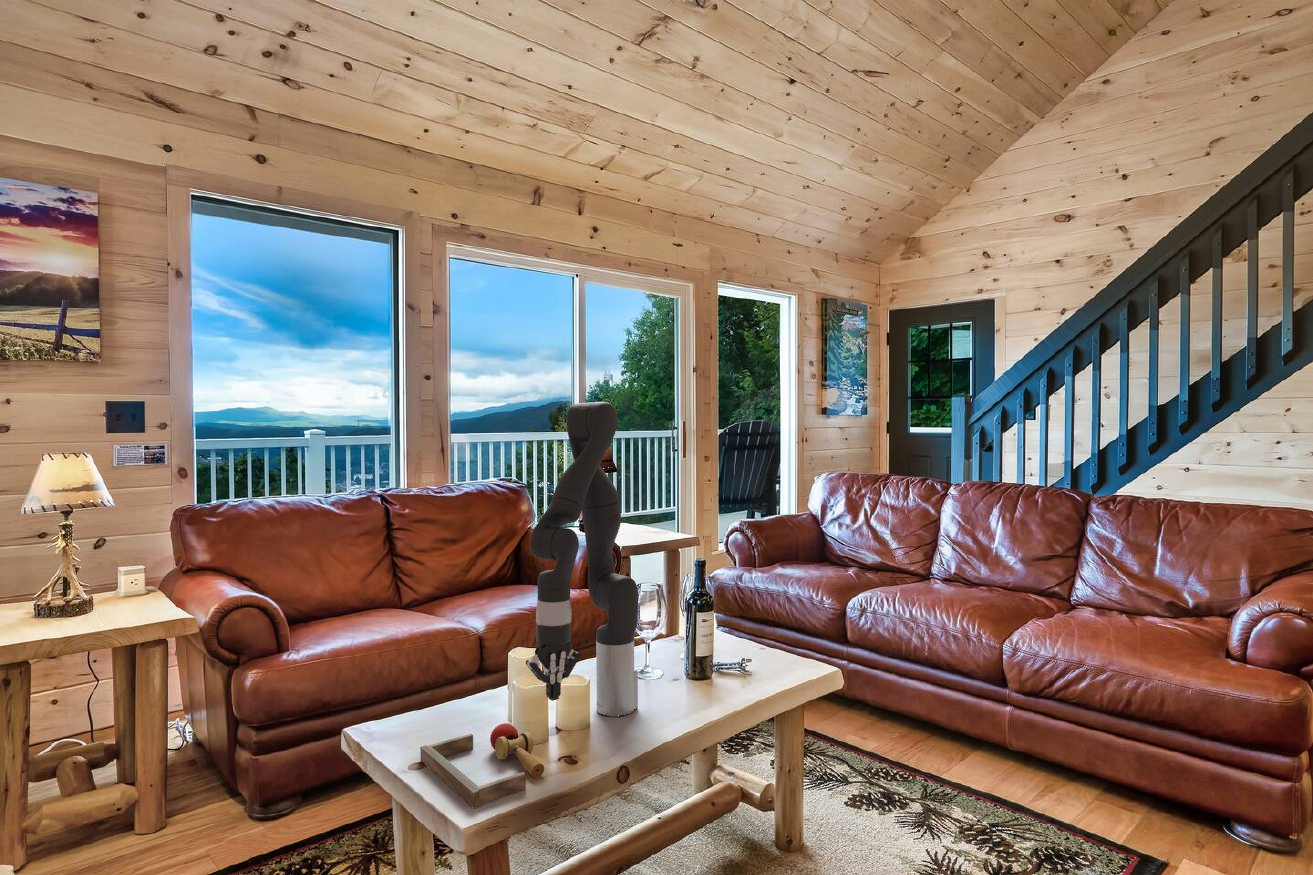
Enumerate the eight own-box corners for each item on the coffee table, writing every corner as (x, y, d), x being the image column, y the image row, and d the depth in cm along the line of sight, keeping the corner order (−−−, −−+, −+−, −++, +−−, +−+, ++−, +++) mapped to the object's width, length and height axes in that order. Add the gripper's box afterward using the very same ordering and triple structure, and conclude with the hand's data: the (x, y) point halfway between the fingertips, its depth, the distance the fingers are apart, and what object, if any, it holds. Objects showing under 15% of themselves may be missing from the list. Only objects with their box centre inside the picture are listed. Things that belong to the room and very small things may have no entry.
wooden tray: (470, 746, 172) (470, 732, 171) (527, 789, 152) (526, 774, 152) (420, 760, 165) (420, 746, 164) (473, 808, 145) (473, 792, 145)
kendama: (557, 776, 160) (516, 735, 174) (554, 750, 159) (513, 710, 173) (523, 794, 156) (484, 750, 170) (520, 767, 154) (480, 725, 168)
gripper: (570, 611, 176) (570, 687, 177) (517, 620, 168) (517, 700, 169) (589, 618, 171) (588, 697, 171) (535, 628, 162) (534, 711, 163)
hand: (553, 698), depth 170 cm, fingers closed
